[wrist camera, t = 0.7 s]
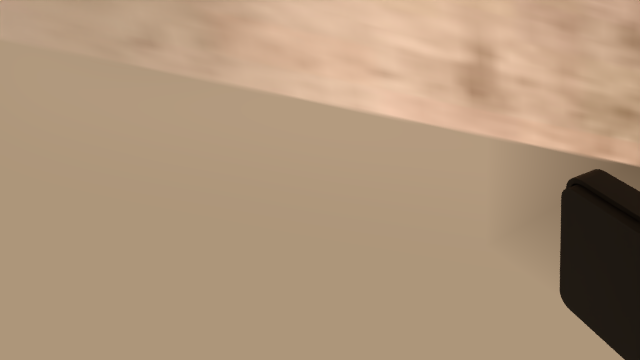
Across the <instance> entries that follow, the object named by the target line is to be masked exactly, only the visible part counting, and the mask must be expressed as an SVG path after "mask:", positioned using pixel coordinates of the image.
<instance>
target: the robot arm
mask: <svg viewBox="0 0 640 360" xmlns="http://www.w3.org/2000/svg"><path fill="white" fill-rule="evenodd" d="M561 198H562V199H561V251H560V255H561V256H560V294H561V298H562V300H563V302H564V303H565V305H566V306H567V307H568V308H569V309H570V310H571V311H572V312H573V313H574V314H575V315H576V316H577V317H579V318H580V319H581V320H582V321H583V322H584V323H585V324H586V325H587V326H588V327H590V328H591V329H592V330H593V331H594V332H595V333H596V334H597V335H598V336H599V337H600V338H602V339H603V340H604V341H605V342H606V343H607V344H608V345H609V346H610V347H611V348H613V349H614V350H615V351H616V352H617V353H618V354H619V355H620V356H622V358H624V359H625V360H640V192H639V191H638V190H636V189H634V188H633V187H631V186H629V185H627V184H626V183H624V182H622V181H620V180H618V179H617V178H615V177H613V176H612V175H610V174H608V173H607V172H605V171H602V170H600V169H595V170H593V171H590V172H587V173H585V174H582V175H579V176H577V177H574V178H572V179H570V180H569V181H568V183H567V186H566V189H565V190H564V191H563V192H562V197H561Z"/></svg>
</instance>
